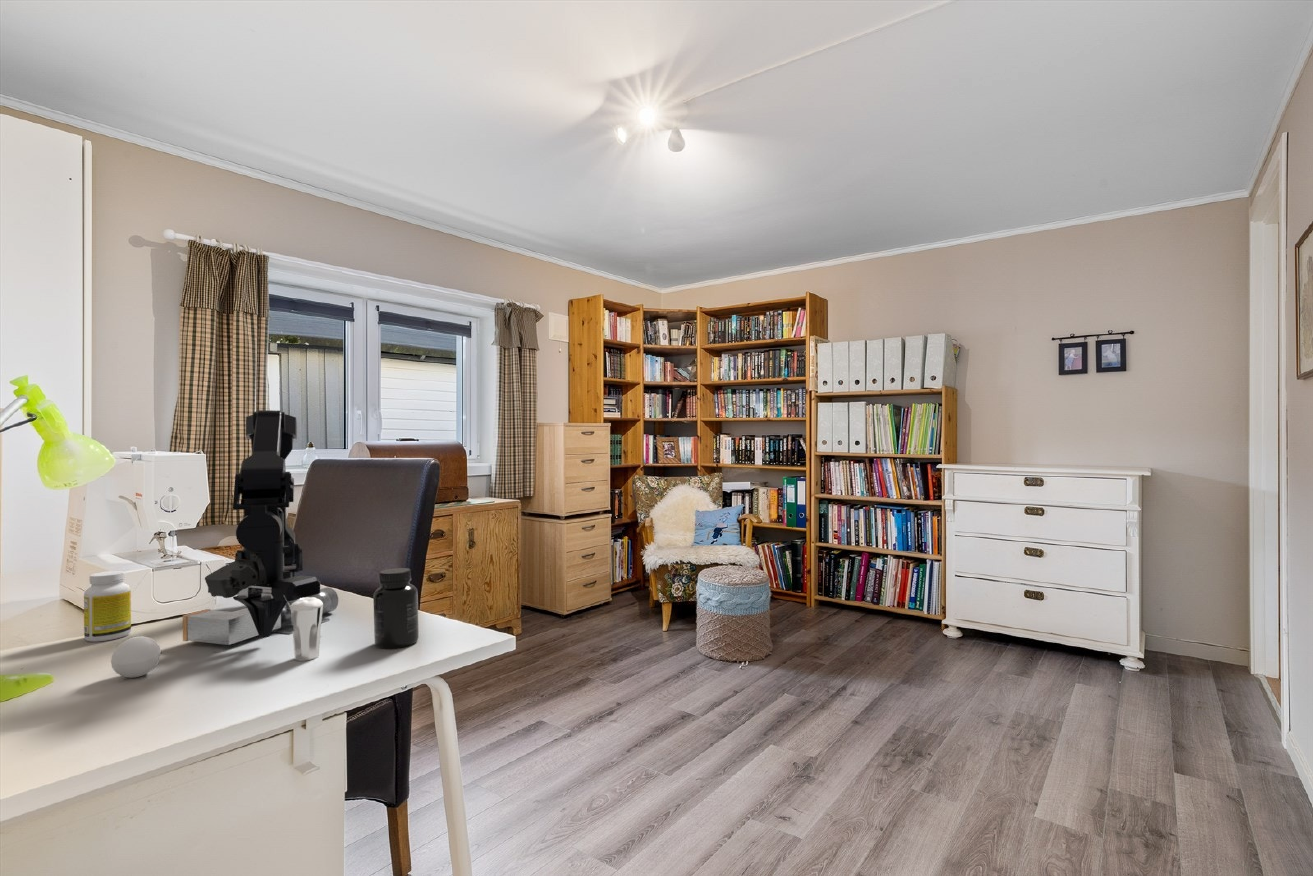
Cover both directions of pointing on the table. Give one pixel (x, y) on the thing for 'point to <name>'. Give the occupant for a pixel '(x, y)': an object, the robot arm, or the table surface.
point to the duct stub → (325, 596)
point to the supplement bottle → (395, 610)
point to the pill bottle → (107, 607)
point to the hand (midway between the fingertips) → (264, 637)
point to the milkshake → (306, 627)
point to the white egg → (136, 657)
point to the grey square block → (220, 626)
